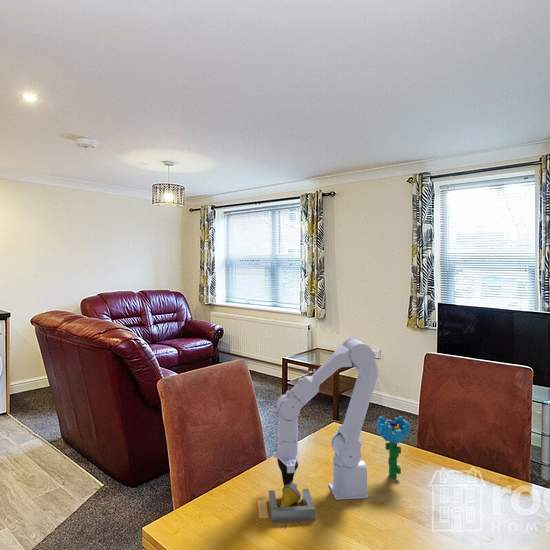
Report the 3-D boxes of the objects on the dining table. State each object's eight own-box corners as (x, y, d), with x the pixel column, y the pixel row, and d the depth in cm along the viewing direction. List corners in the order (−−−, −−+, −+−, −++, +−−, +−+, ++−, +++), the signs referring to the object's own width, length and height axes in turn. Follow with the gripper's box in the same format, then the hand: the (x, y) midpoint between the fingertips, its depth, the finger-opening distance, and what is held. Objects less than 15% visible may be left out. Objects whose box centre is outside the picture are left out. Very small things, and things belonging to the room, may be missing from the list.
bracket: (308, 499, 112) (308, 488, 112) (315, 520, 103) (315, 509, 103) (268, 501, 111) (268, 490, 111) (271, 523, 102) (271, 511, 102)
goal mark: (265, 500, 112) (265, 499, 112) (268, 518, 104) (268, 517, 104) (257, 500, 111) (257, 500, 111) (259, 518, 103) (259, 517, 103)
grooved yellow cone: (293, 492, 115) (275, 520, 107) (286, 476, 115) (267, 503, 107) (308, 493, 112) (290, 522, 104) (300, 477, 111) (282, 504, 103)
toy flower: (374, 469, 129) (374, 414, 128) (401, 469, 129) (402, 413, 129) (383, 485, 120) (384, 425, 119) (412, 484, 120) (413, 424, 120)
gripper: (271, 428, 121) (271, 472, 121) (276, 450, 106) (276, 500, 106) (294, 427, 121) (294, 471, 121) (302, 449, 107) (302, 499, 107)
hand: (287, 485), depth 114 cm, fingers closed
